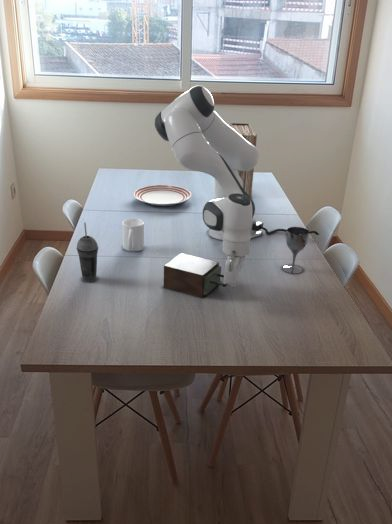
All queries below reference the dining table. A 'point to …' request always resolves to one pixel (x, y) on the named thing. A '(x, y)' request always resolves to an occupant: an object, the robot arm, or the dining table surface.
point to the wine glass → (295, 245)
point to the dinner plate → (162, 195)
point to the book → (251, 137)
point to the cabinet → (187, 274)
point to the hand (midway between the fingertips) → (233, 285)
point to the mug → (133, 234)
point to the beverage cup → (88, 256)
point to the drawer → (213, 280)
